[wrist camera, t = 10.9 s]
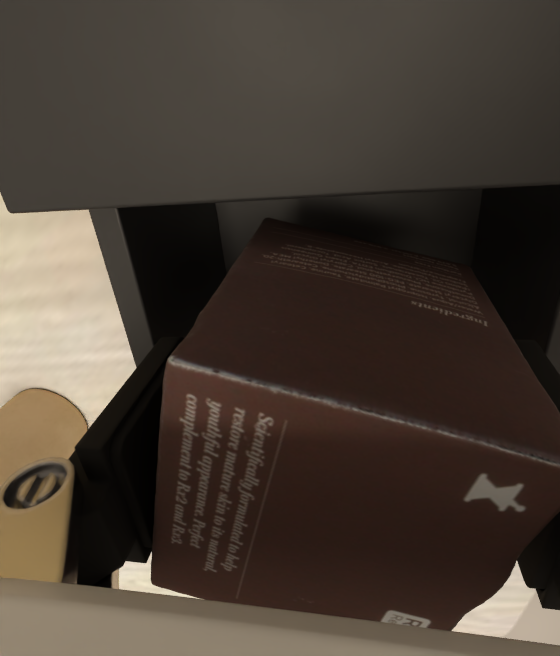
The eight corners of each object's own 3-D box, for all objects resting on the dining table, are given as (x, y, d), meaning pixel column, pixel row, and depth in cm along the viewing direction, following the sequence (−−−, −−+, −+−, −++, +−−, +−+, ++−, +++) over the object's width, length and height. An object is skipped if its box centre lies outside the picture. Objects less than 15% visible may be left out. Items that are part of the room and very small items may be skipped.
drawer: (469, 441, 23) (524, 614, 15) (233, 429, 25) (180, 574, 18) (545, 19, 14) (769, -63, 6) (165, 63, 16) (0, 43, 9)
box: (265, 208, 12) (157, 347, 5) (476, 262, 12) (617, 471, 5) (233, 376, 15) (141, 588, 9) (399, 421, 15) (430, 671, 8)
